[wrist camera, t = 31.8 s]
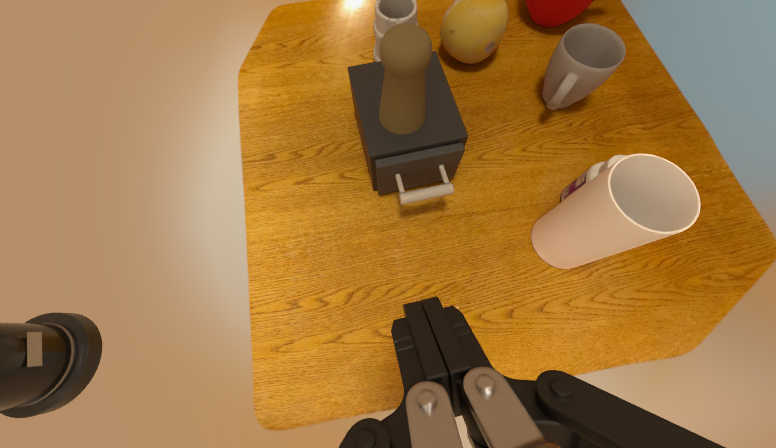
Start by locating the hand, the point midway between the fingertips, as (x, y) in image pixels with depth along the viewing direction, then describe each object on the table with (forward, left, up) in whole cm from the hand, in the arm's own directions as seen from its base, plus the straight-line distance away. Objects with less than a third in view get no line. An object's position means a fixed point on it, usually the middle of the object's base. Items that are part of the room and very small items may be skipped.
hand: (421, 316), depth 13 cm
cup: (+25, +6, -28) cm, 38 cm away
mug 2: (+34, +29, -28) cm, 53 cm away
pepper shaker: (+6, +25, -18) cm, 31 cm away
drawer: (+7, +23, -27) cm, 36 cm away
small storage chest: (+7, +27, -28) cm, 39 cm away
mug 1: (+10, +46, -28) cm, 55 cm away
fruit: (+23, +43, -28) cm, 56 cm away
